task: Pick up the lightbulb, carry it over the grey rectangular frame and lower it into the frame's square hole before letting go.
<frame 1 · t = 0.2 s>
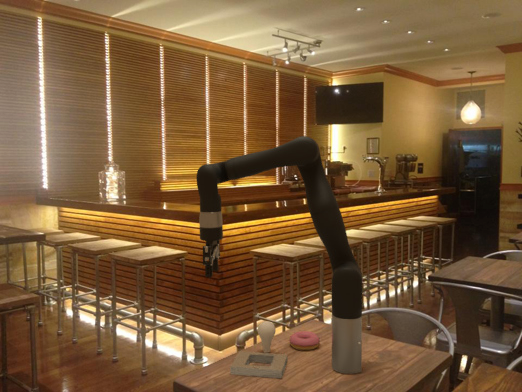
hand: (212, 273, 157), 28 cm above the table, tool pointing down, fingers open, 8 cm apart
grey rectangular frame: (259, 368, 151), on the table
lightbulb: (266, 353, 163), on the table
doughnut: (304, 346, 169), on the table
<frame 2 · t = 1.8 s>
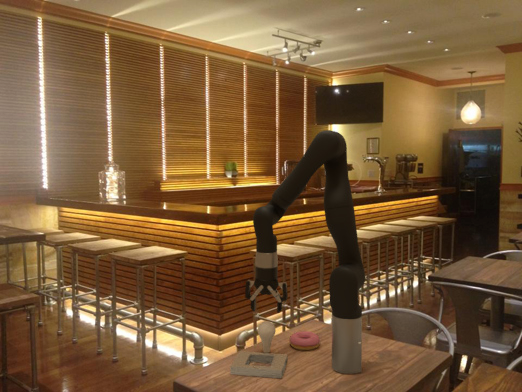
hand: (266, 311, 162), 14 cm above the table, tool pointing down, fingers open, 8 cm apart
nothing on the table moved.
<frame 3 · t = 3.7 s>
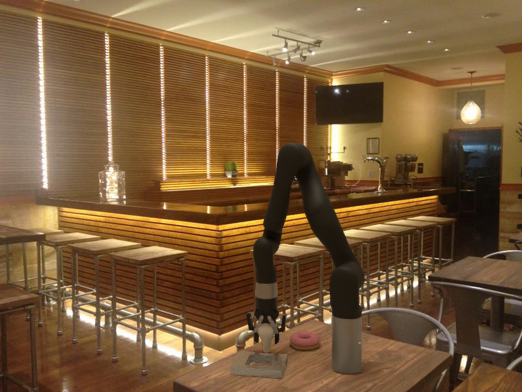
hand: (266, 342, 163), 4 cm above the table, tool pointing down, fingers closed on lightbulb, 6 cm apart
lightbulb: (266, 353, 163), on the table, touching gripper
everything else where it was.
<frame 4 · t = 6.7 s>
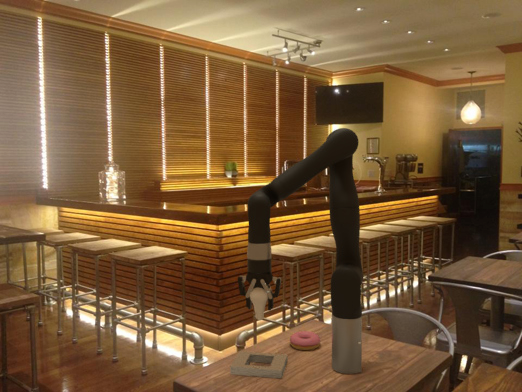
hand: (259, 309, 150), 19 cm above the table, tool pointing down, fingers closed on lightbulb, 6 cm apart
lightbulb: (259, 320, 150), point 15 cm above the table, touching gripper
everything else where it was.
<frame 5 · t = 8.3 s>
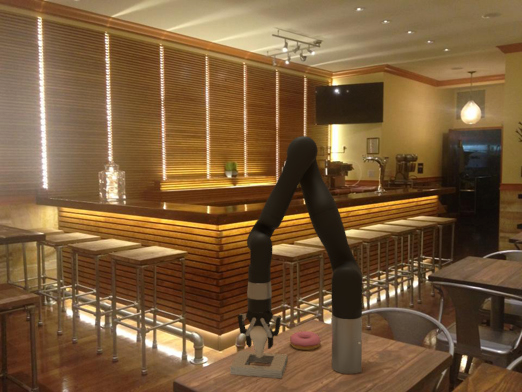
hand: (259, 347, 151), 7 cm above the table, tool pointing down, fingers closed on lightbulb, 6 cm apart
lightbulb: (259, 358, 151), point 3 cm above the table, touching gripper
everything else where it was.
when the fingers open (4 cm above the table, at t = 9.6 s): lightbulb stays where it is, resting in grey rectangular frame.
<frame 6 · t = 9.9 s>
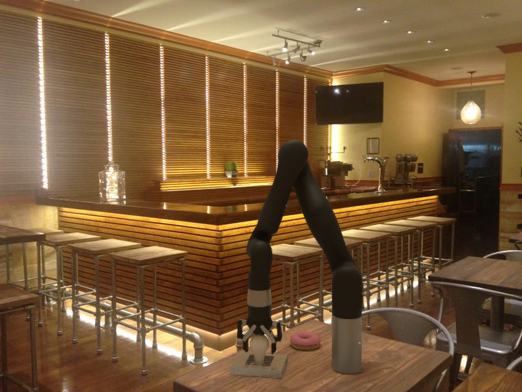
hand: (259, 352, 151), 5 cm above the table, tool pointing down, fingers open, 8 cm apart
lightbulb: (259, 368, 151), resting in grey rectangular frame
everything else where it was.
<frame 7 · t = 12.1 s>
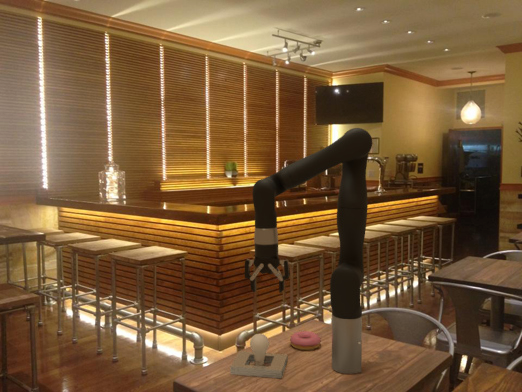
hand: (267, 291, 152), 24 cm above the table, tool pointing down, fingers open, 8 cm apart
nothing on the table moved.
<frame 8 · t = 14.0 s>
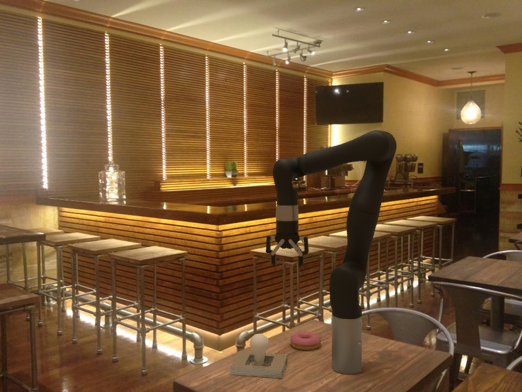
hand: (287, 266, 160), 30 cm above the table, tool pointing down, fingers open, 8 cm apart
nothing on the table moved.
at the end: lightbulb 0.1 cm off-centre on the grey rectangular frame, point 0.0 cm above the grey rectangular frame's base; lightbulb tilted 0°; the gripper is holding nothing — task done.
